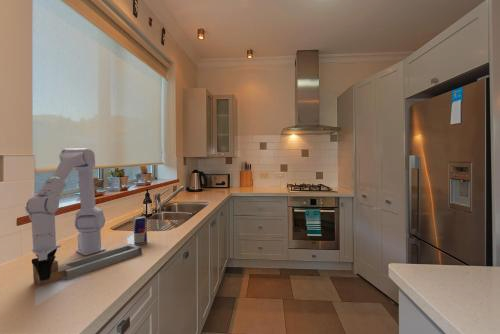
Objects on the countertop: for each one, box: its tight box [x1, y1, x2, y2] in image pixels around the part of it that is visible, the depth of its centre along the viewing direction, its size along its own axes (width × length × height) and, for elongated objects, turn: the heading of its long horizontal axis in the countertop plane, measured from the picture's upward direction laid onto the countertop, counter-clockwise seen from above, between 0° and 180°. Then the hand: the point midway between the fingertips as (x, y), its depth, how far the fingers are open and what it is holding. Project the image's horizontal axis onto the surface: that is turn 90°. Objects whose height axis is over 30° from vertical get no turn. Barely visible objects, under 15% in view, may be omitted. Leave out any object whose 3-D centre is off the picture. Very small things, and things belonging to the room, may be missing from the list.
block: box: [32, 259, 72, 287], centre depth 82 cm, size 4×9×6 cm, turn 149°
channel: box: [58, 243, 143, 280], centre depth 95 cm, size 9×26×2 cm, turn 145°
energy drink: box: [132, 215, 148, 246], centre depth 116 cm, size 5×5×12 cm
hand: (46, 275), depth 81 cm, fingers closed on block, 6 cm apart
